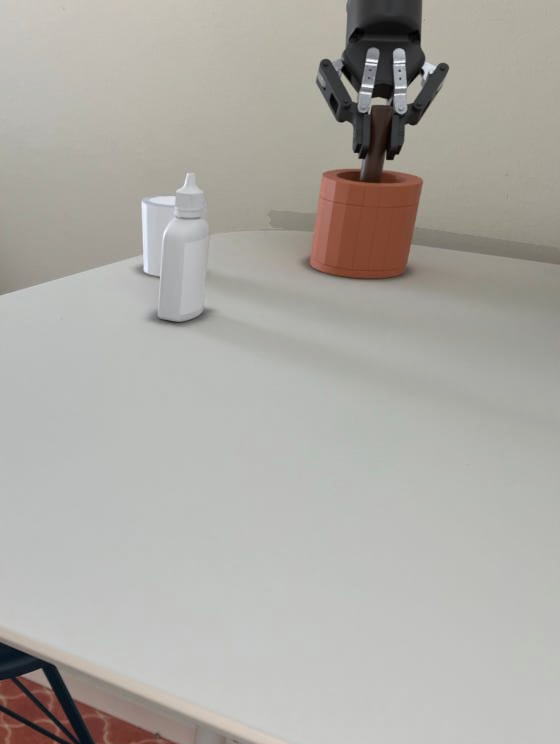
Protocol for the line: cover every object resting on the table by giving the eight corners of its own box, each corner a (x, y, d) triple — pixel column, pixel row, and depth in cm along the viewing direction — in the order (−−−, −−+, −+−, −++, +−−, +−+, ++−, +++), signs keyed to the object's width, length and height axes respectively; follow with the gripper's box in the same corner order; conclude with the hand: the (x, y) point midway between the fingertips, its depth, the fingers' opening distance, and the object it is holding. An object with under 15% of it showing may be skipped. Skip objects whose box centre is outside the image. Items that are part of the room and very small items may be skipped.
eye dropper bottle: (219, 317, 92) (232, 175, 85) (168, 324, 89) (178, 180, 83) (192, 305, 95) (203, 167, 88) (142, 312, 92) (150, 171, 86)
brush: (372, 236, 109) (396, 103, 102) (388, 247, 105) (414, 109, 98) (330, 236, 109) (351, 102, 101) (345, 247, 105) (368, 108, 98)
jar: (384, 255, 113) (400, 168, 108) (420, 278, 105) (438, 185, 100) (298, 255, 112) (309, 168, 107) (326, 279, 104) (340, 186, 99)
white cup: (177, 260, 109) (182, 191, 105) (215, 274, 104) (221, 203, 101) (125, 267, 106) (128, 196, 102) (161, 282, 101) (166, 209, 98)
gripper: (323, -26, 100) (314, 126, 97) (463, -22, 99) (459, 131, 96) (311, 33, 108) (302, 175, 105) (441, 37, 107) (437, 181, 103)
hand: (378, 153), depth 100 cm, fingers closed on brush
